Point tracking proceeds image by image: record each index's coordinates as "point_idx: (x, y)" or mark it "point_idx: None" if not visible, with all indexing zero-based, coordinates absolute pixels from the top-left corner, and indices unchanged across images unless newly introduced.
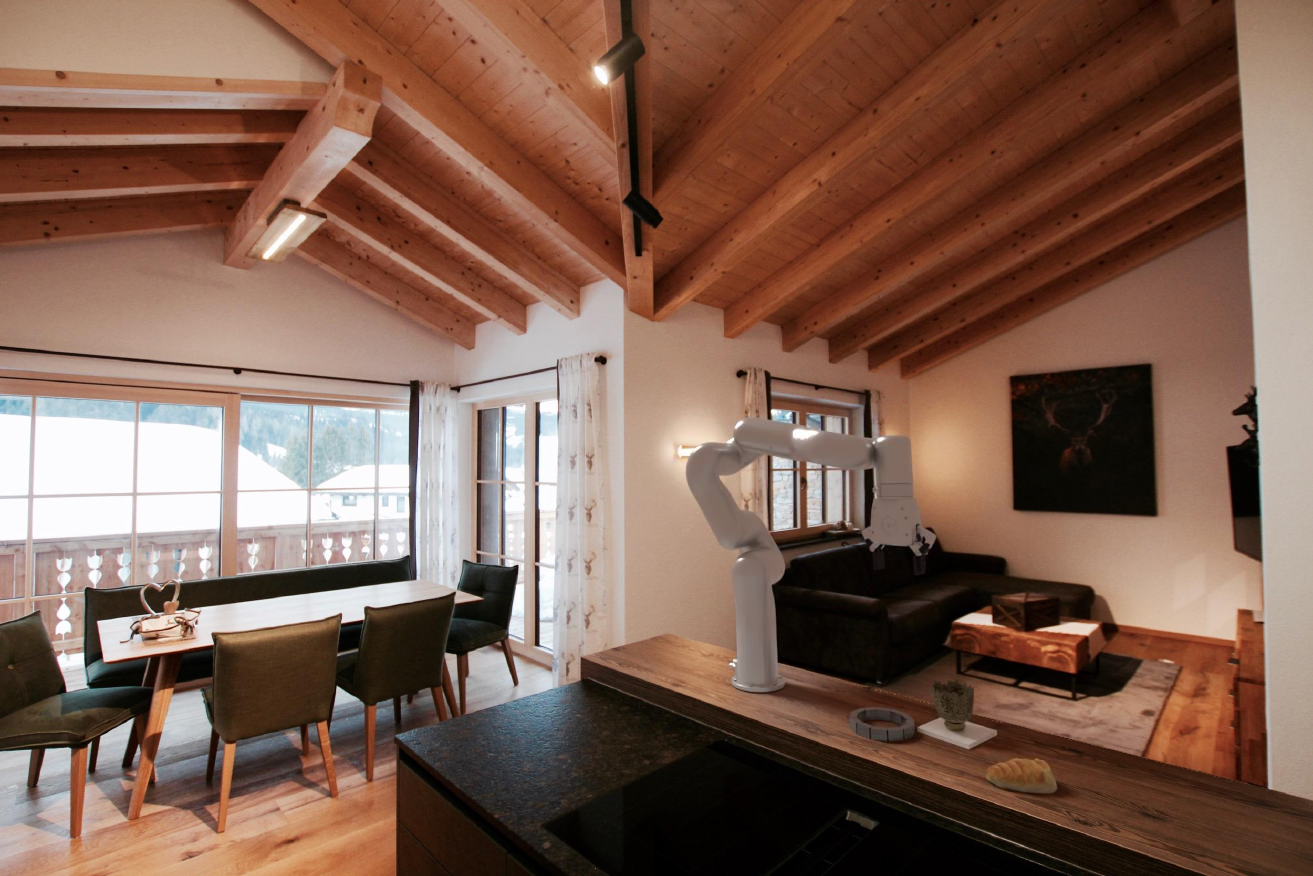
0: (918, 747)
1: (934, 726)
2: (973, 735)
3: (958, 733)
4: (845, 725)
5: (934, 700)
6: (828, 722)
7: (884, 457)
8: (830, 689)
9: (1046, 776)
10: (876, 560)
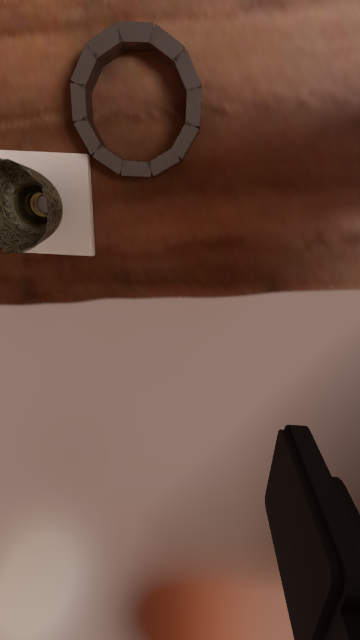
0: (43, 80)
1: (71, 185)
2: None
3: None
4: (200, 60)
5: (41, 176)
6: (236, 42)
7: None
8: (336, 233)
9: None
10: (302, 489)
